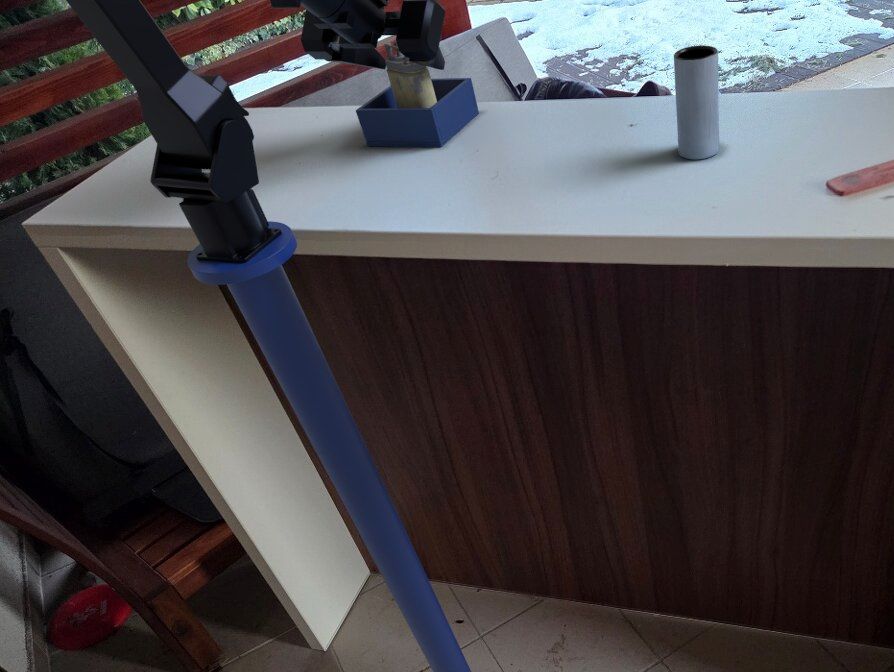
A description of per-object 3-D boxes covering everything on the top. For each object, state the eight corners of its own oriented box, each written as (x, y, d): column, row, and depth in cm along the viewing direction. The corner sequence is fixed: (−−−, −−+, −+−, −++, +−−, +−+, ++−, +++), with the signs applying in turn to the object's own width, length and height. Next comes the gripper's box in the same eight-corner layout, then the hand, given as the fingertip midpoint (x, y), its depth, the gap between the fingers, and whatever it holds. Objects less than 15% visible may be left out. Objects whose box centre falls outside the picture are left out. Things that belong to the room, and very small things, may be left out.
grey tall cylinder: (725, 144, 84) (724, 45, 77) (710, 161, 82) (708, 60, 75) (687, 142, 86) (683, 44, 79) (672, 158, 83) (666, 59, 76)
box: (441, 147, 95) (431, 109, 92) (367, 146, 98) (355, 110, 95) (479, 113, 102) (471, 77, 99) (409, 113, 106) (399, 79, 102)
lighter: (448, 125, 98) (427, 42, 92) (425, 135, 97) (402, 51, 90) (418, 116, 103) (395, 36, 96) (395, 125, 101) (370, 45, 94)
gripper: (410, -89, 78) (487, 1, 92) (277, -77, 85) (368, 4, 99) (390, 18, 78) (470, 91, 93) (259, 21, 85) (352, 88, 99)
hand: (413, 65), depth 96 cm, fingers open, 9 cm apart
